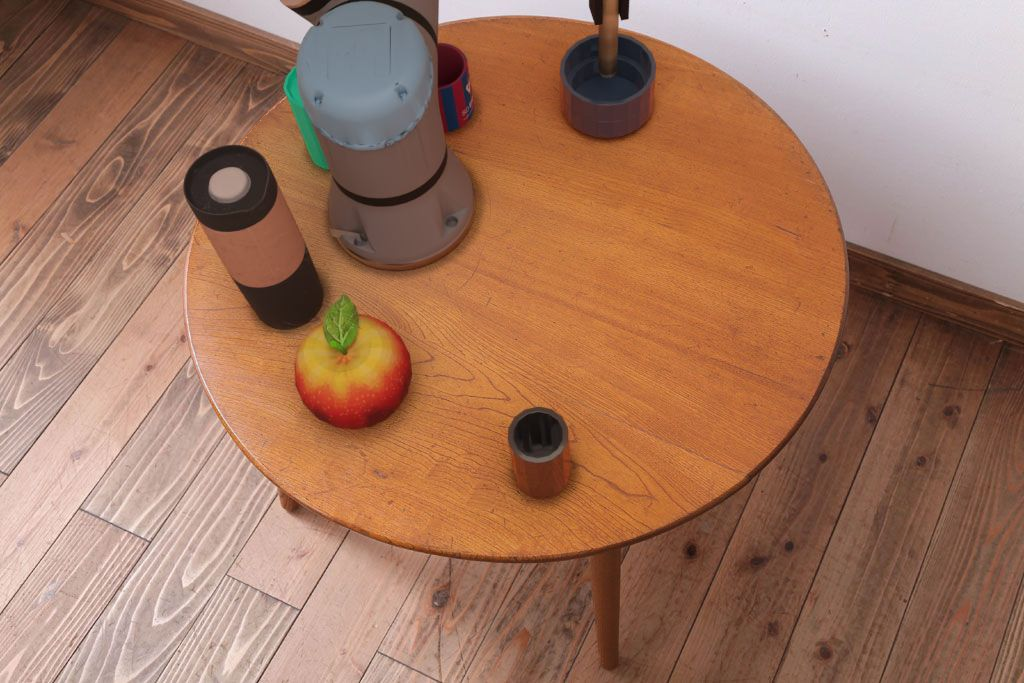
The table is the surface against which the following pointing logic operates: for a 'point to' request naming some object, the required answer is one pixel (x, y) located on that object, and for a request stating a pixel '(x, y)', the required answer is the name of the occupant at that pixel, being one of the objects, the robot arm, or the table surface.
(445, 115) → the cup
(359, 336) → the fruit
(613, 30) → the stick
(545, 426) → the holder
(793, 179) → the table surface
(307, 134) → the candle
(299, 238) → the travel mug
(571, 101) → the bowl
